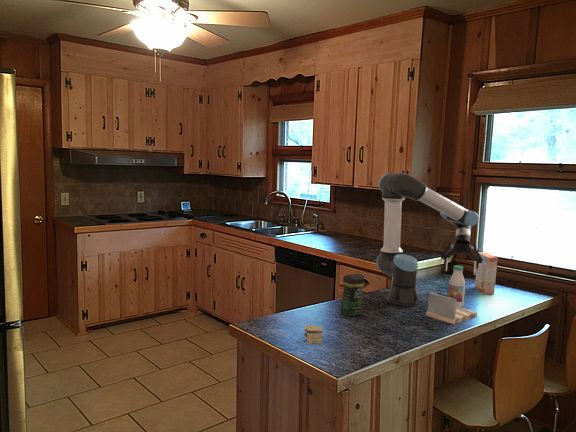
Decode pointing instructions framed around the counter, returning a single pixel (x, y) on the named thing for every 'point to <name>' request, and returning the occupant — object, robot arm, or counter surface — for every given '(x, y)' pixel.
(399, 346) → the counter surface
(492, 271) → the cracker box
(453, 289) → the milk bottle
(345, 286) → the coffee jar
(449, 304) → the bookend
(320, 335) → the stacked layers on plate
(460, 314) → the shelf board
